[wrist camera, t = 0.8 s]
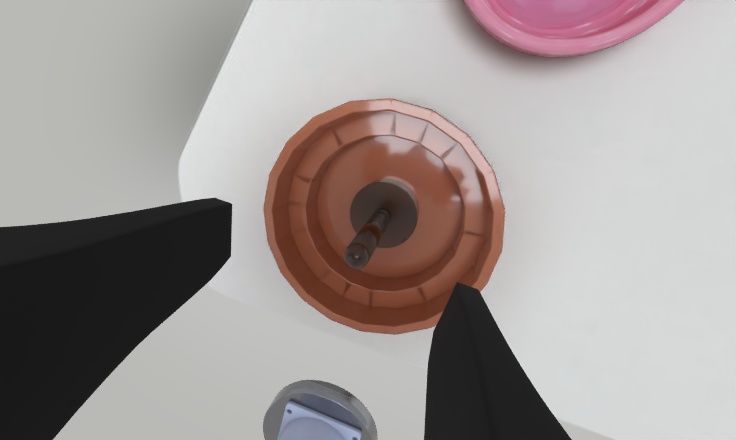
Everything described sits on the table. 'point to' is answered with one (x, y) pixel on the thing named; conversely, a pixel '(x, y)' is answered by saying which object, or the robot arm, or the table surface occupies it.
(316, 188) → the bowl
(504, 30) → the saucer
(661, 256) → the table surface
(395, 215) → the disc with handle
